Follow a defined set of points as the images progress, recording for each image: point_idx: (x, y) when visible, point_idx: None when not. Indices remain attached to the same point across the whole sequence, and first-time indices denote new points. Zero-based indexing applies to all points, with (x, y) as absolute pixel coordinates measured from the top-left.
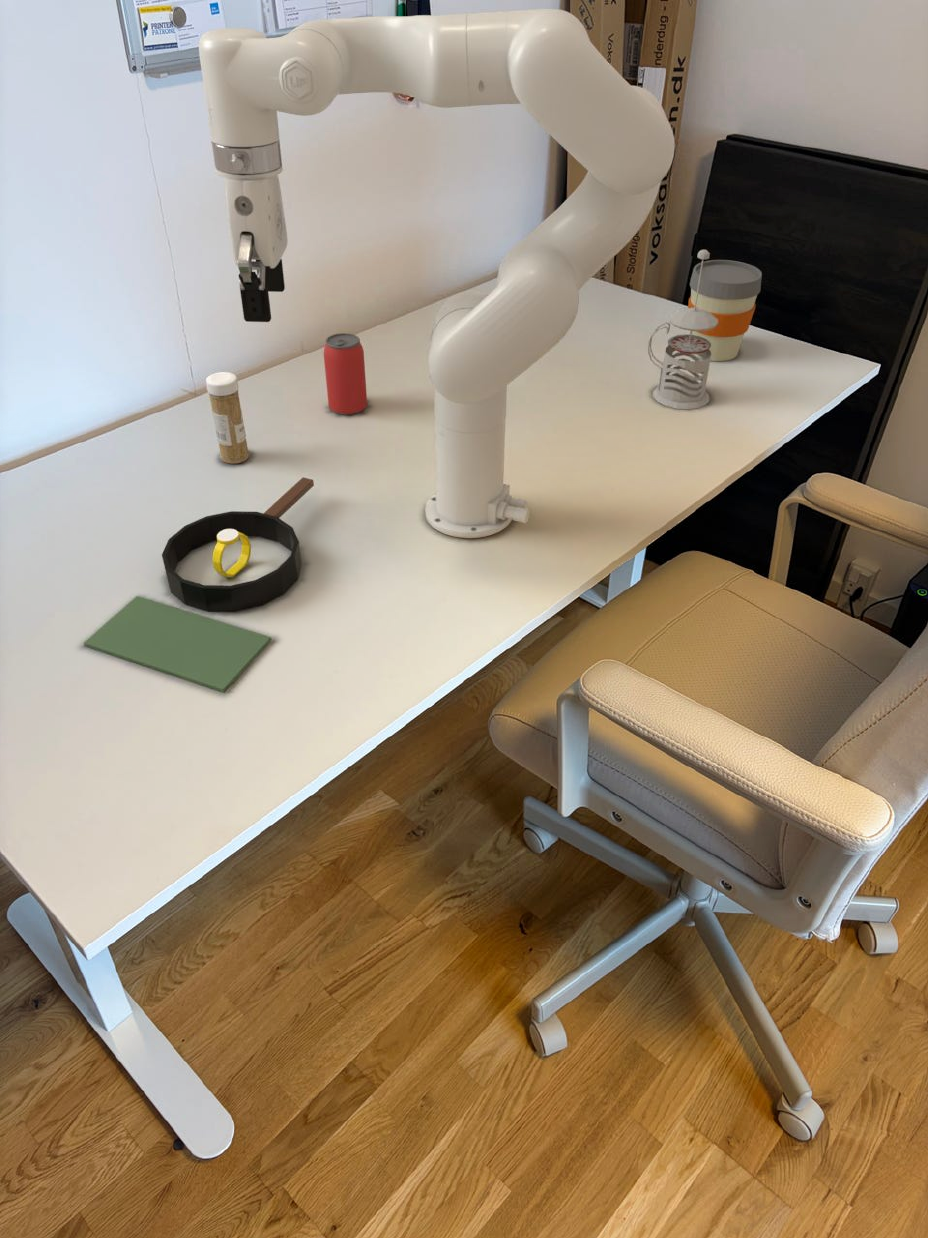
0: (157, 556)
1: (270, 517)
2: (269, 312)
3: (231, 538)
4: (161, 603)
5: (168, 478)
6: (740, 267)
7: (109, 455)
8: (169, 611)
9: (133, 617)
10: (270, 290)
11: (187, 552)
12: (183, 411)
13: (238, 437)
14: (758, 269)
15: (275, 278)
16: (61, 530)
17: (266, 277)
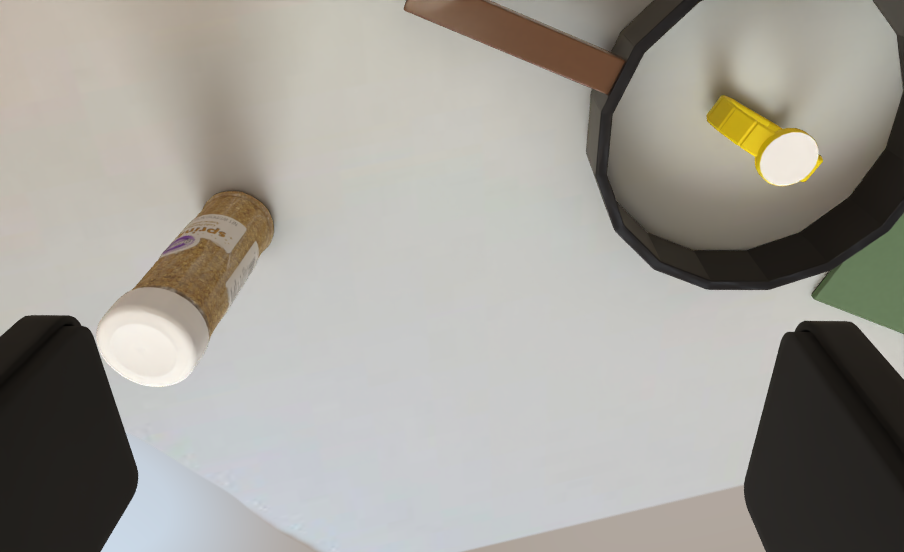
0: (661, 294)
1: (635, 66)
2: (888, 368)
3: (808, 146)
4: None
5: (355, 339)
6: None
7: (283, 457)
8: None
9: (889, 288)
10: (117, 416)
11: (663, 240)
12: None
13: (237, 231)
14: None
15: (33, 452)
16: (556, 465)
17: (61, 528)
